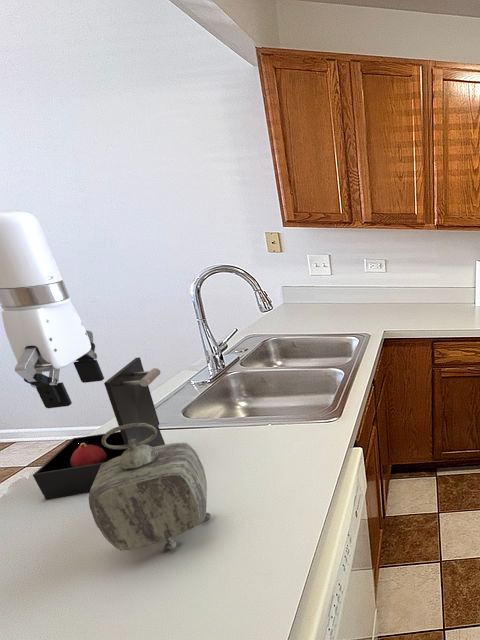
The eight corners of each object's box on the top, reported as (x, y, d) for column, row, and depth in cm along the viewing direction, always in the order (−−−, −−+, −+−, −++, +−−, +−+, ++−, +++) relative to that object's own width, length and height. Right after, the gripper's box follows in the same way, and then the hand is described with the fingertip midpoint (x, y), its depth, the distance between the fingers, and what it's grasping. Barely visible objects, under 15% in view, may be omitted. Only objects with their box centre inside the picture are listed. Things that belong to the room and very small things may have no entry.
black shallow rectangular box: (45, 500, 83) (32, 475, 81) (83, 460, 95) (73, 438, 93) (142, 483, 88) (132, 459, 85) (166, 447, 100) (158, 425, 98)
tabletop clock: (218, 510, 80) (181, 402, 70) (218, 541, 73) (177, 426, 63) (126, 541, 73) (72, 425, 63) (117, 578, 66) (54, 455, 56)
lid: (103, 382, 79) (137, 380, 80) (135, 357, 91) (164, 355, 93) (129, 457, 85) (160, 453, 87) (155, 424, 97) (182, 421, 99)
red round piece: (71, 478, 89) (56, 448, 86) (99, 462, 94) (86, 434, 91) (90, 482, 87) (76, 452, 84) (118, 466, 93) (105, 437, 90)
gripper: (41, 285, 68) (80, 375, 75) (-47, 312, 53) (12, 421, 60) (94, 283, 70) (128, 370, 77) (25, 307, 55) (74, 414, 62)
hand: (77, 393), depth 68 cm, fingers open, 9 cm apart
